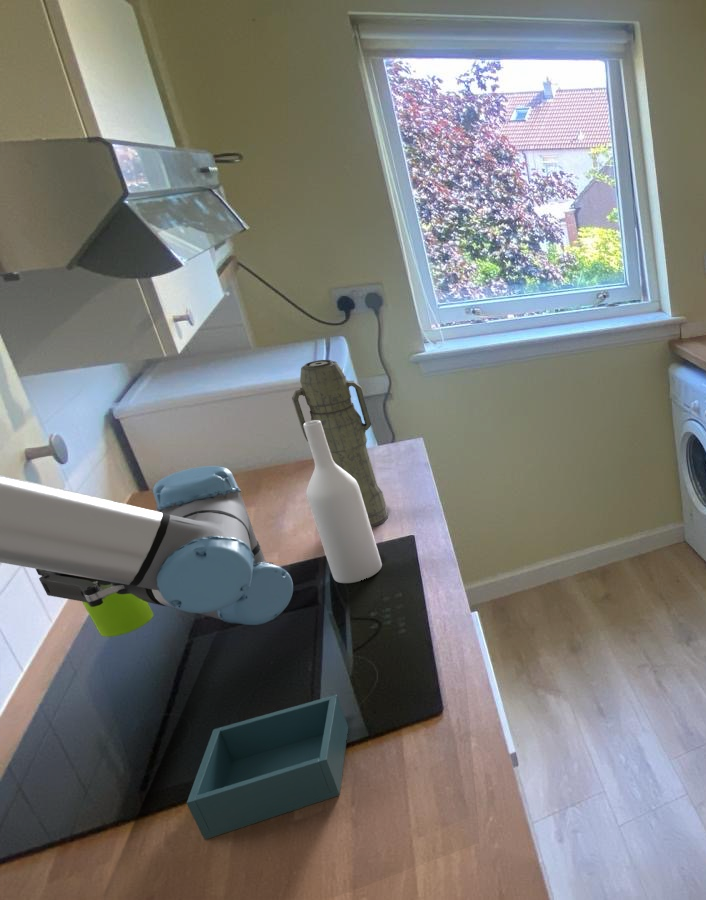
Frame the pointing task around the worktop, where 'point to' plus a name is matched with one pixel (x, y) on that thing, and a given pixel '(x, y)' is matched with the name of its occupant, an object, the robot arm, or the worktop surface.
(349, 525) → the bottle
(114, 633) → the soap dispenser
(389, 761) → the worktop surface
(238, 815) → the tub
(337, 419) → the olive amphora vase
